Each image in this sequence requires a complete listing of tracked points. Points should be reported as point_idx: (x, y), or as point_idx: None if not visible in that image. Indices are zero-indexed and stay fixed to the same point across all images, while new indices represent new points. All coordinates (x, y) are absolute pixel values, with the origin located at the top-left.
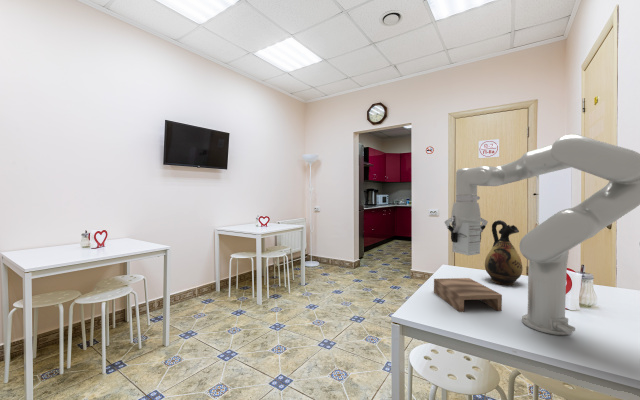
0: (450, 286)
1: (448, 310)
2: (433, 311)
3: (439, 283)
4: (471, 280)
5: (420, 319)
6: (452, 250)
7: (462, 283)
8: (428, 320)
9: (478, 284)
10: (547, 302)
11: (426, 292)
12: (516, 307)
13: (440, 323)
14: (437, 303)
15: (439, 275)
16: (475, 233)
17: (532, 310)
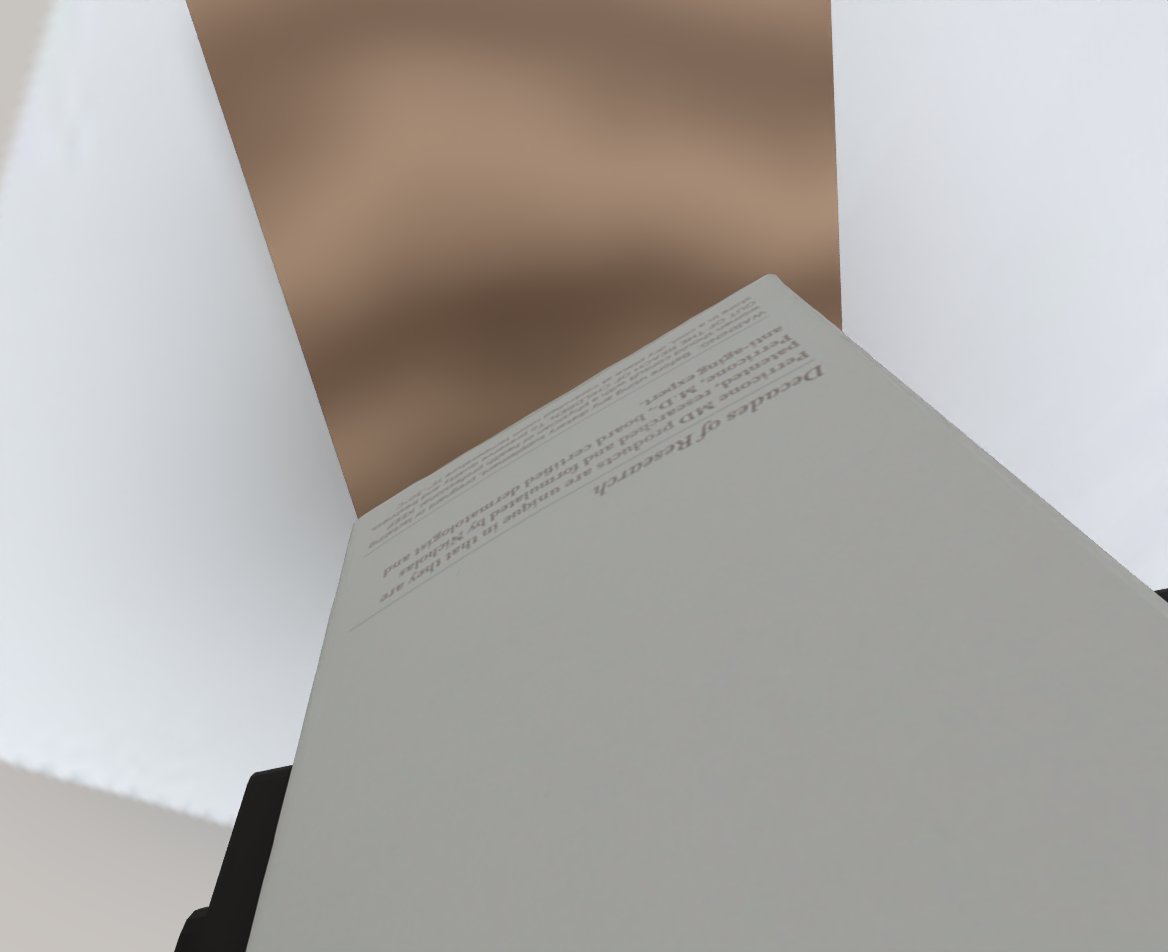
0: (372, 367)
1: (316, 533)
2: (172, 573)
3: (254, 192)
4: (790, 30)
5: (51, 722)
6: (349, 545)
7: (585, 210)
8: (115, 726)
9: (792, 226)
10: None
11: (134, 16)
12: (984, 378)
13: (204, 752)
14: (236, 387)
15: None
16: None
17: None
